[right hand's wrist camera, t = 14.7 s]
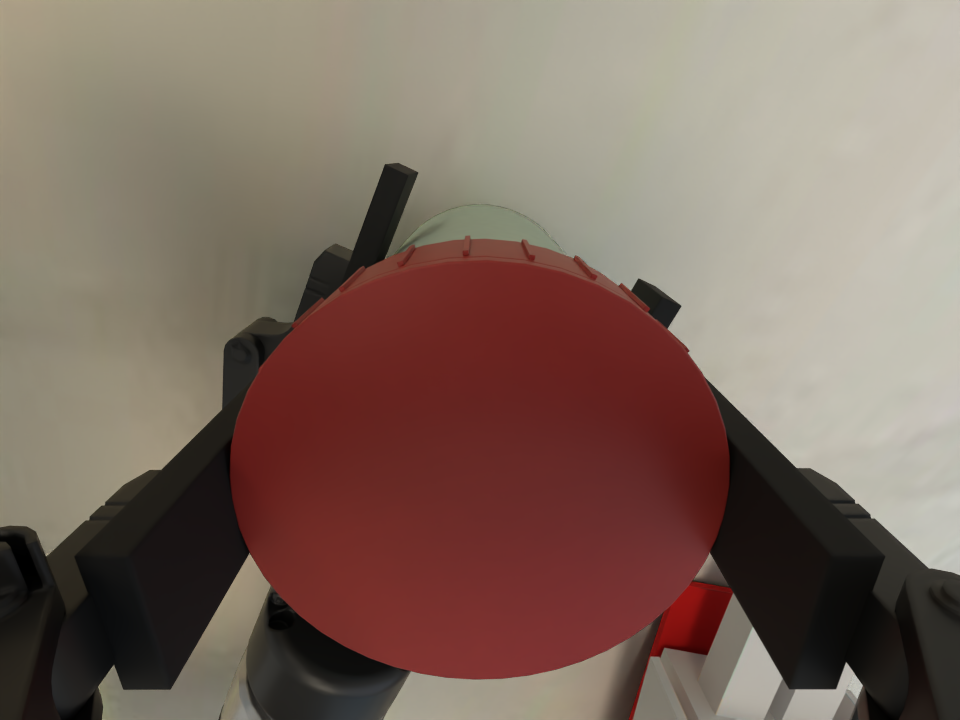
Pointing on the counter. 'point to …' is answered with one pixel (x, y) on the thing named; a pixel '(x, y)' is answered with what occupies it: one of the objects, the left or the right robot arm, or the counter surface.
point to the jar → (480, 227)
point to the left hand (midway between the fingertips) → (536, 232)
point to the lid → (479, 462)
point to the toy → (724, 669)
